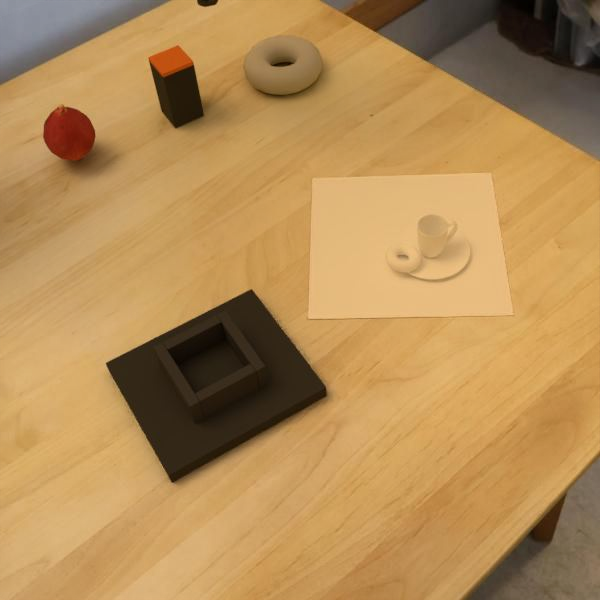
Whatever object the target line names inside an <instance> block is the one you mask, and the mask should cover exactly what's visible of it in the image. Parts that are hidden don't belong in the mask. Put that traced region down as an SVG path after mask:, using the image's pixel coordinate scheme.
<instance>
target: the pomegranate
mask: <svg viewBox="0 0 600 600" xmlns="http://www.w3.org/2000/svg"><path fill="white" fill-rule="evenodd" d="M42 138H43V141H44V144H45V145H46V147H47V149H48V150H49V151H50V152H51V154H53V155H54V156H56V157H58V158H59V159H61V160H65V161H71V162H72V161H76V162H78V161H81V160H82V159H84V157H86V156H88V154H89V153H90V152H91V151H92V149H93V147H94V145H95V141H96V129H95V127H94V124H93V123H92V121H91V119H90V118H89V116H88V115H86V114H85V113H83V112H82V111H81V110H80V109H77V108H74V107H70V106H65V105H64V104H63V103H61V104H58V105H57V106H56V108H54V110H52V111H51V112H50V113H49V115H48V117H47V118H46V119H45V121H44V123H43V134H42Z"/></svg>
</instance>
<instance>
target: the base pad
mask: <svg viewBox="0 0 600 600" xmlns="http://www.w3.org/2000/svg"><path fill="white" fill-rule="evenodd" d="M105 365H106V368H107V370H108V372H109V374H110V376H111V377H112V379H113V381H114V383H115V384H116V386H117V388H118V390H119V391H120V393H121V395H122V397H123V399H124V400H125V402H126V404H127V406H128V408H129V409H130V411H131V413H132V415H133V416H134V418H135V420H136V421H137V423H138V425H139V427H140V429H141V431H142V432H143V434H144V437H146V439H147V441H148V443H149V445H150V447H151V448H152V450H153V452H154V454H155V456H156V458H157V459H158V461H159V462H160V464H161V466H162V468H163V470H164V472H165V473H166V475H167V476H168V479H169V480H170V482H171V483H174V482H177V481H178V480H179V479H181V478H183V477H185V476H187V475H188V474H190V473H192V472H194V471H196V470H198V469H199V468H201V467H203V466H204V465H206V464H208V463H210V462H212V461H213V460H215V459H217V458H219V457H221V456H222V455H224V454H226V453H228V452H230V451H231V450H233V449H235V448H237V447H238V446H240V445H242V444H244V443H246V442H248V441H249V440H251V439H252V438H255V437H256V436H258V435H260V434H261V433H264V432H265V431H267V430H268V429H270V428H272V427H274V426H276V425H278V424H279V423H281V422H283V421H284V420H286V419H288V418H290V417H292V416H293V415H295V414H297V413H299V412H301V411H303V410H305V409H306V408H308V407H309V406H311V405H314V404H315V403H317V402H318V401H320V400H322V399H324V398H326V397H327V396H328V393H327V386H326V384H324V382H323V380H322V379H320V377H319V376H318V374H317V373H316V372H315V370H314V368H312V366H311V365H310V364H309V362H308V361H307V359H306V358H305V357H304V356H303V354H302V353H301V352H300V350H299V349H298V348H297V347H296V345H295V344H294V343H293V341H292V340H291V339H290V337H289V336H288V334H287V333H286V332H285V331H284V329H283V328H282V326H280V324H279V323H278V321H277V320H276V319H275V317H274V316H273V315H272V313H271V312H270V311H269V310H268V308H267V306H266V305H265V304H264V303H263V301H262V299H260V298H259V296H258V295H257V294H256V293H255V291H254V290H253V289H249V290H247V291H245V292H243V293H241V294H239V295H237V296H234V297H233V298H231V299H228V300H227V301H225V302H223V303H221V304H219V305H217V306H215V307H213V308H211V309H209V310H208V311H207V310H206V311H205V312H203V313H202V314H200V315H198V316H196V317H194V318H191V319H189V320H187V321H186V322H184V323H182V324H179V325H178V326H176V327H174V328H172V329H170V330H167V331H166V332H165V333H162V334H159V335H158V336H156V337H154V338H152V339H150V340H148V341H146V342H144V343H142V344H140V345H138V346H136V347H134V348H132V349H131V350H129V351H126V352H124V353H122V354H120V355H118V356H116V357H115V358H112V359H110V360H108V361H106V362H105Z"/></svg>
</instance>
